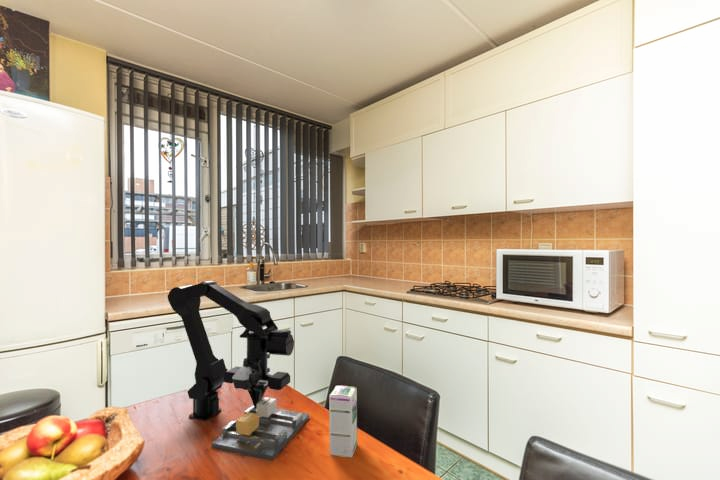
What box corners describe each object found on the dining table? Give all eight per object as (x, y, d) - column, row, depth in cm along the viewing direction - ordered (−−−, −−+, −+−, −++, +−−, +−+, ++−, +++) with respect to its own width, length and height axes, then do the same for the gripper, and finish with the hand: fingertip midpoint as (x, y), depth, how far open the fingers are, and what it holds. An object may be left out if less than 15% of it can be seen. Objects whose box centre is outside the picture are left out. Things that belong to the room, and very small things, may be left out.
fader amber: (236, 438, 83) (236, 420, 83) (247, 429, 88) (247, 411, 88) (248, 440, 82) (248, 422, 82) (258, 431, 87) (258, 413, 87)
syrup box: (352, 458, 78) (352, 396, 78) (328, 455, 79) (328, 394, 79) (357, 444, 83) (357, 386, 84) (335, 441, 85) (335, 384, 85)
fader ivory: (256, 420, 92) (256, 403, 92) (265, 412, 96) (265, 396, 96) (267, 422, 91) (267, 405, 91) (276, 414, 95) (276, 398, 95)
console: (211, 447, 82) (211, 435, 82) (258, 409, 101) (258, 399, 101) (271, 460, 77) (272, 447, 77) (309, 418, 96) (309, 407, 96)
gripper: (210, 358, 90) (209, 416, 90) (270, 366, 85) (269, 427, 84) (236, 346, 101) (236, 398, 100) (291, 352, 95) (291, 407, 95)
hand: (256, 407), depth 95 cm, fingers closed
